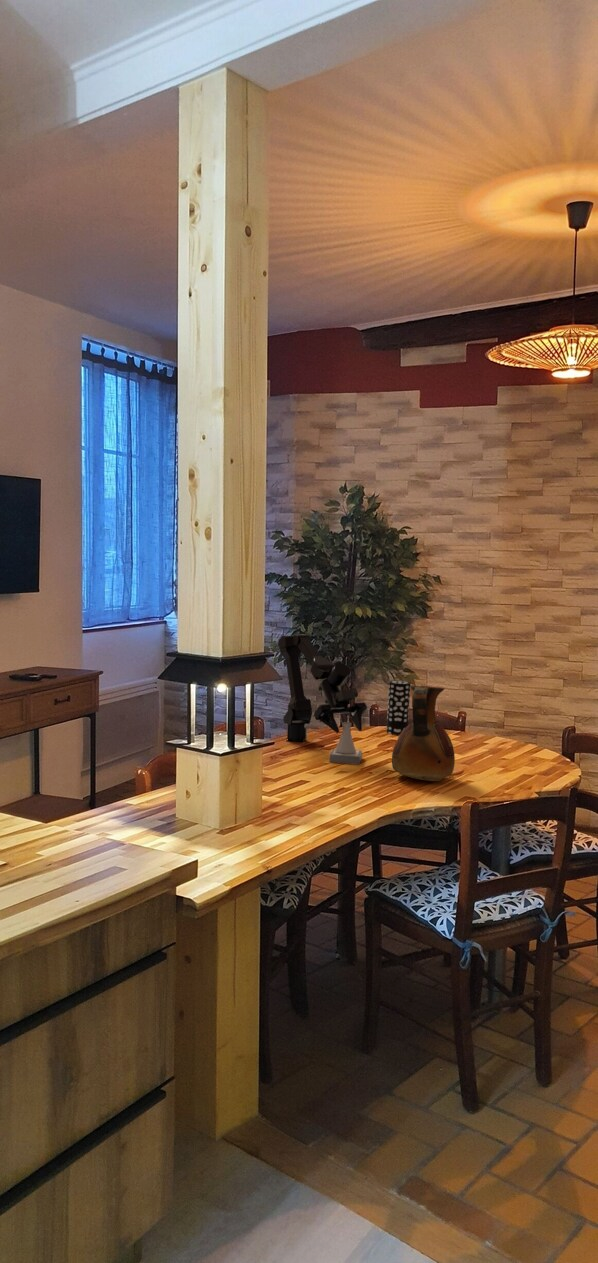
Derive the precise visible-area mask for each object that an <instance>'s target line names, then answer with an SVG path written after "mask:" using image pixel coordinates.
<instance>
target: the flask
mask: <svg viewBox="0 0 598 1263" xmlns="http://www.w3.org/2000/svg"><path fill="white" fill-rule="evenodd" d="M341 724H342V731H341V735H340V737H339V741H338V743H337V745H336V747H335V749H336V750H335V752H338V753H344V754H352V753H355V752H356V750H357V749H356V747H355V743H354V741H353V736H352V731H351V726H352V722H348V721H347V722H346V721H343V722H342V723H341Z"/></svg>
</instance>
